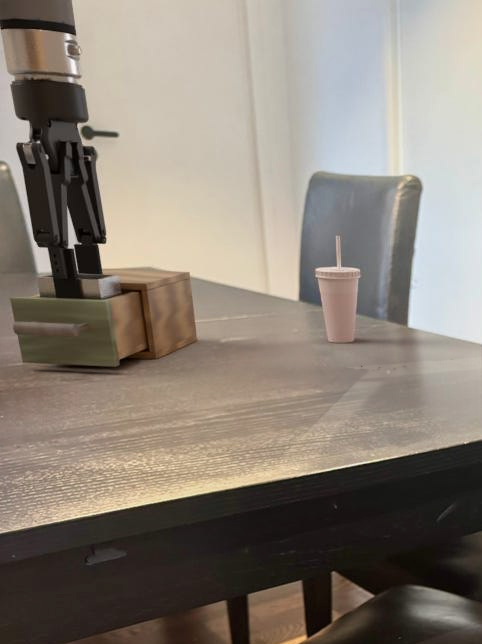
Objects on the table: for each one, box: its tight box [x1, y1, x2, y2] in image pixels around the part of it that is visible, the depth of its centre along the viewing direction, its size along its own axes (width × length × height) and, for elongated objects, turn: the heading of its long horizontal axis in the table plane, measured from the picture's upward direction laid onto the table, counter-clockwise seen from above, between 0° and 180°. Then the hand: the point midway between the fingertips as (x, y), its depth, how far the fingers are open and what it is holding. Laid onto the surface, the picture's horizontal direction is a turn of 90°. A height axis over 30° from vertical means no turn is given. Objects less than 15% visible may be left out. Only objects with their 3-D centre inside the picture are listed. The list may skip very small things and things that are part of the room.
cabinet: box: [102, 268, 198, 360], centre depth 121 cm, size 15×13×9 cm
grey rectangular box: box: [36, 273, 122, 300], centre depth 109 cm, size 8×6×4 cm
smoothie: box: [314, 235, 362, 344], centre depth 129 cm, size 6×6×14 cm
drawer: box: [9, 289, 149, 368], centre depth 110 cm, size 18×11×7 cm, turn 175°
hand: (83, 304), depth 110 cm, fingers closed on grey rectangular box, 5 cm apart
